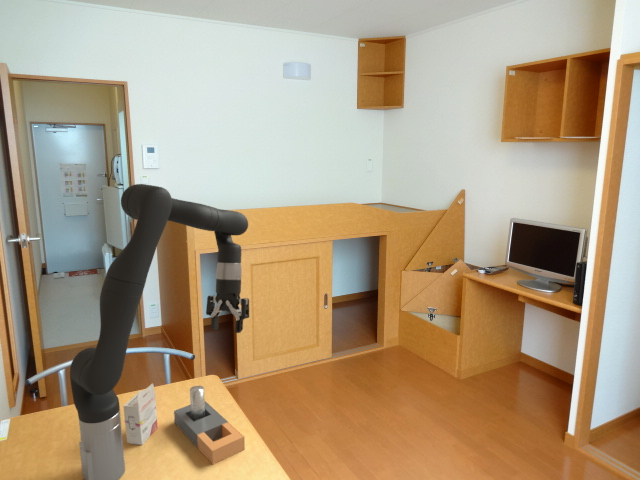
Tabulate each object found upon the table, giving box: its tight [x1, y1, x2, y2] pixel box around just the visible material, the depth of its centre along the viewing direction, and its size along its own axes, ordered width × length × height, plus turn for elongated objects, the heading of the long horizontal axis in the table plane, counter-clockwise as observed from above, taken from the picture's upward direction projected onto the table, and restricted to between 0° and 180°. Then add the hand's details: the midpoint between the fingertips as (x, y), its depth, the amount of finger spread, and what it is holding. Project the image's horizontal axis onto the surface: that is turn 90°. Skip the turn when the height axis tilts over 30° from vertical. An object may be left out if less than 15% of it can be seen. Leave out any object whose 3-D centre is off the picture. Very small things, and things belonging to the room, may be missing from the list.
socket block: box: [173, 400, 246, 465], centre depth 135 cm, size 10×24×4 cm, turn 40°
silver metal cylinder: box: [189, 385, 206, 422], centre depth 139 cm, size 4×4×12 cm
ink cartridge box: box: [123, 383, 158, 446], centre depth 134 cm, size 9×5×15 cm, turn 168°
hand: (226, 331), depth 143 cm, fingers open, 8 cm apart
